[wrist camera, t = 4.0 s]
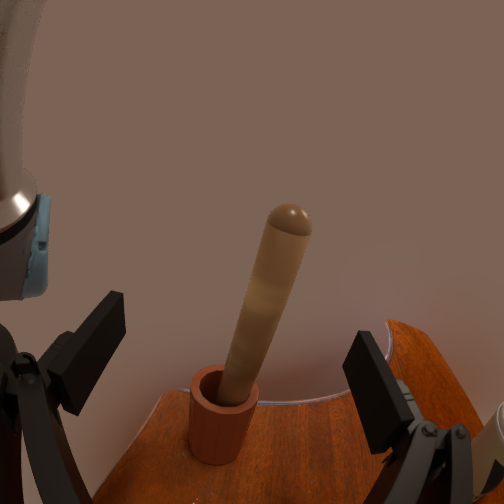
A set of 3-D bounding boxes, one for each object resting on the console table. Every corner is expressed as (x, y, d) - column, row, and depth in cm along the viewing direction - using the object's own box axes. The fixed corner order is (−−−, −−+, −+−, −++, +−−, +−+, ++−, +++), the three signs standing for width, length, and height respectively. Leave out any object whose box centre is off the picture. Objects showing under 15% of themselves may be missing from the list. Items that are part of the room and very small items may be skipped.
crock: (185, 460, 21) (185, 407, 17) (192, 420, 26) (196, 359, 22) (239, 468, 21) (259, 418, 18) (241, 428, 26) (258, 369, 23)
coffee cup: (438, 517, 12) (517, 460, 8) (431, 459, 21) (490, 395, 17) (488, 503, 11) (556, 445, 7) (477, 454, 19) (531, 394, 15)
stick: (202, 447, 22) (274, 204, 13) (205, 428, 24) (271, 194, 15) (226, 451, 22) (322, 217, 13) (227, 432, 24) (313, 205, 15)
